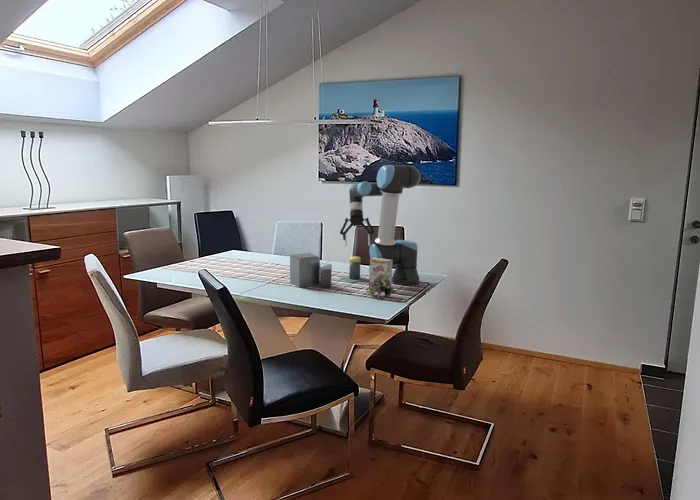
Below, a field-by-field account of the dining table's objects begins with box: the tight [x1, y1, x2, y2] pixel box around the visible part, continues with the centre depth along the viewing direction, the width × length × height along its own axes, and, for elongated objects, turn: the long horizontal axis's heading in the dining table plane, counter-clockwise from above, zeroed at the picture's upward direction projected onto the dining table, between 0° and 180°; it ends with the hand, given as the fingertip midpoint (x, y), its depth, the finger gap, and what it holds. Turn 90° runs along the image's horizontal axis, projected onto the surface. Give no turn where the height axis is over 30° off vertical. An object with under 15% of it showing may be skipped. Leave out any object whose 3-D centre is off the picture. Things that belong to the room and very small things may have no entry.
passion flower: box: [366, 279, 396, 299], centre depth 254 cm, size 11×11×12 cm
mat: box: [339, 275, 369, 284], centre depth 290 cm, size 12×12×1 cm
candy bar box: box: [368, 258, 393, 292], centre depth 267 cm, size 11×5×16 cm, turn 59°
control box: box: [289, 252, 321, 288], centre depth 278 cm, size 12×12×16 cm
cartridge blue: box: [319, 263, 333, 289], centre depth 272 cm, size 6×6×12 cm
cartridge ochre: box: [348, 255, 362, 280], centre depth 289 cm, size 6×6×12 cm
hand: (357, 245), depth 302 cm, fingers open, 13 cm apart
